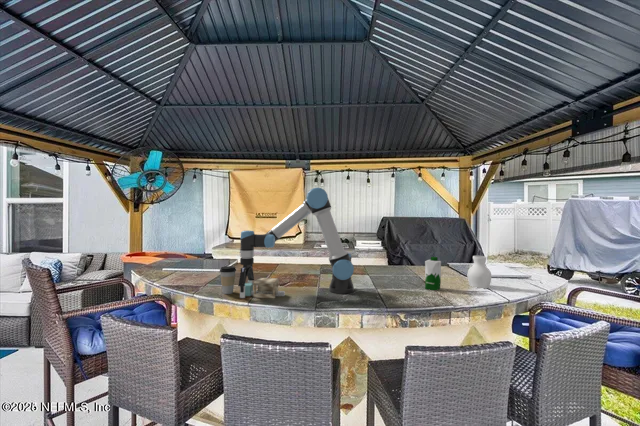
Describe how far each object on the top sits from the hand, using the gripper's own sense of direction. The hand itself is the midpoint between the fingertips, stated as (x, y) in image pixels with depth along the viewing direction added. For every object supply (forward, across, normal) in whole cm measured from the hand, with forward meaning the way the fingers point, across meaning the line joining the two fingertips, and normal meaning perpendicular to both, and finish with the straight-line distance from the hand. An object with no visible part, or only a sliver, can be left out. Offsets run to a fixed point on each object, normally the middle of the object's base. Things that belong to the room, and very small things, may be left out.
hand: (246, 294), depth 169 cm
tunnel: (0, 0, +12) cm, 12 cm away
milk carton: (0, -27, +113) cm, 116 cm away
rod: (+1, -1, +12) cm, 13 cm away
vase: (-1, -37, +146) cm, 150 cm away
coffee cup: (+1, -3, -12) cm, 13 cm away
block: (0, -1, 0) cm, 1 cm away
